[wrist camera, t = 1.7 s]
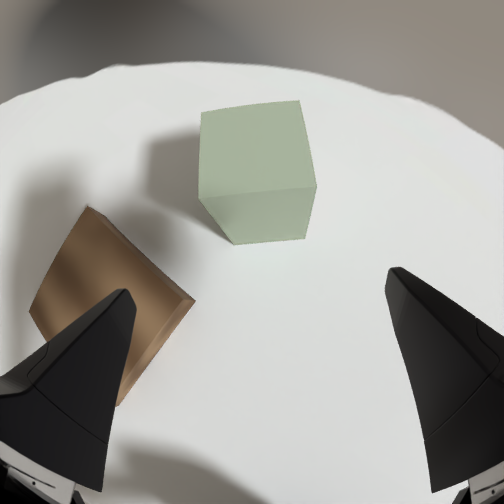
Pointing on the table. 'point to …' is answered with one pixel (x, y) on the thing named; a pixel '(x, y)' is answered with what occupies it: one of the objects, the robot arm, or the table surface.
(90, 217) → the walnut plinth
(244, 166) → the sage block
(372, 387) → the table surface
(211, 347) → the table surface
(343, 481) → the table surface
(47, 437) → the robot arm
